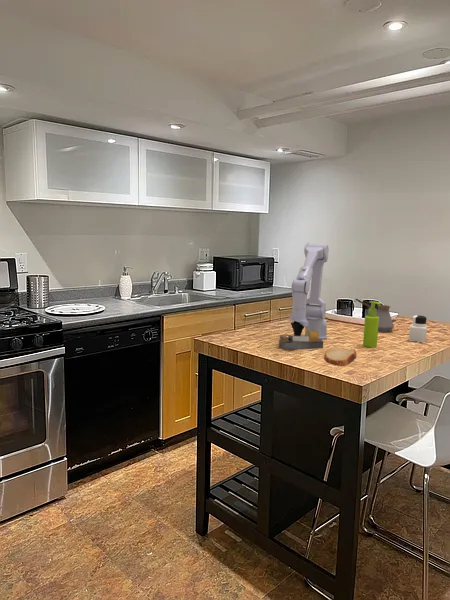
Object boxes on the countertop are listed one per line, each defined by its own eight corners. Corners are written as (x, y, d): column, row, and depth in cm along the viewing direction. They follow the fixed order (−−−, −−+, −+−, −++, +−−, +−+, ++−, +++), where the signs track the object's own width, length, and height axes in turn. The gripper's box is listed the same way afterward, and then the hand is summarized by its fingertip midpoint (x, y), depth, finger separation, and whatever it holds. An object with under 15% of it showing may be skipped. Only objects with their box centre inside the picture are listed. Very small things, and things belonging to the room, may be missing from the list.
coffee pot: (396, 330, 243) (399, 302, 241) (389, 334, 234) (391, 304, 231) (356, 324, 255) (358, 297, 253) (348, 327, 246) (350, 299, 244)
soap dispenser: (371, 348, 203) (375, 303, 200) (359, 345, 209) (363, 300, 206) (381, 347, 206) (385, 302, 203) (369, 343, 212) (373, 300, 209)
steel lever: (308, 340, 200) (308, 335, 200) (308, 341, 198) (309, 336, 197) (288, 339, 201) (288, 334, 201) (288, 340, 199) (288, 335, 198)
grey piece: (316, 344, 207) (317, 333, 206) (323, 348, 202) (323, 336, 201) (278, 346, 202) (279, 335, 201) (284, 349, 196) (285, 338, 195)
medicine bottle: (425, 340, 223) (428, 315, 221) (425, 343, 216) (427, 317, 214) (409, 338, 226) (412, 313, 224) (408, 341, 219) (411, 316, 217)
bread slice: (337, 367, 174) (337, 358, 174) (310, 355, 191) (310, 346, 190) (375, 363, 181) (376, 354, 181) (346, 352, 198) (346, 343, 197)
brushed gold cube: (313, 338, 205) (314, 329, 205) (318, 341, 201) (319, 331, 201) (305, 338, 204) (305, 329, 204) (310, 341, 200) (310, 332, 199)
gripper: (283, 305, 204) (282, 335, 206) (298, 311, 190) (296, 344, 193) (298, 304, 206) (296, 334, 208) (313, 311, 192) (311, 343, 195)
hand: (297, 339), depth 201 cm, fingers closed, pressing on steel lever
